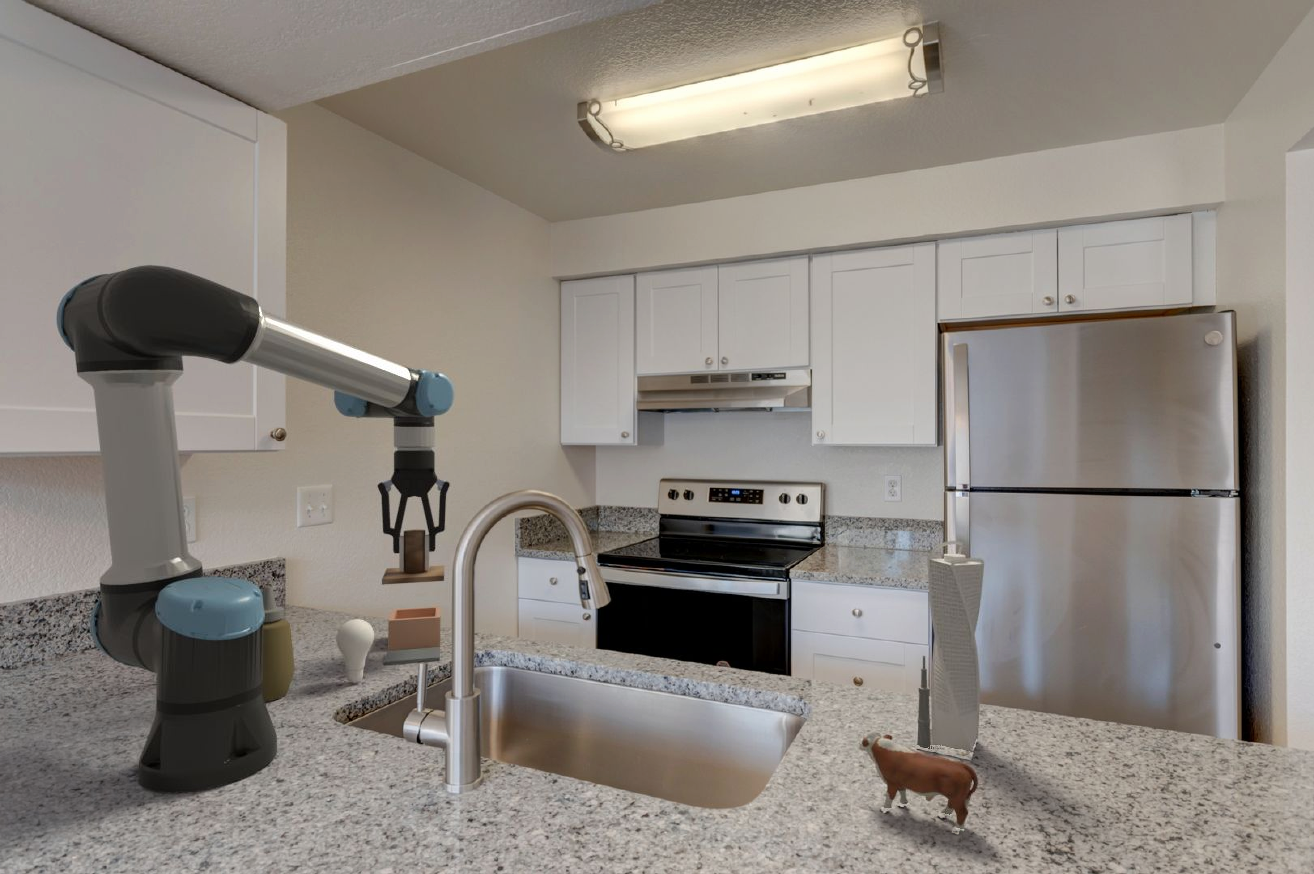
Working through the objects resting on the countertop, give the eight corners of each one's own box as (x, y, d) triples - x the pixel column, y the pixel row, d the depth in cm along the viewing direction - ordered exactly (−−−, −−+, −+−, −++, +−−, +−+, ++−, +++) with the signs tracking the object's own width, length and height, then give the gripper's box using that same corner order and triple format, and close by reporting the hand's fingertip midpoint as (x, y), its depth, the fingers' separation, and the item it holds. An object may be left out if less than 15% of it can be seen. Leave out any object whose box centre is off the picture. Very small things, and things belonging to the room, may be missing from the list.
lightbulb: (335, 679, 123) (336, 617, 123) (373, 675, 125) (373, 613, 125) (335, 691, 117) (336, 625, 117) (374, 685, 120) (375, 621, 120)
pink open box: (388, 650, 140) (388, 620, 140) (392, 637, 149) (392, 609, 150) (440, 646, 143) (440, 617, 143) (440, 633, 152) (440, 606, 152)
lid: (381, 584, 129) (381, 535, 129) (386, 573, 139) (386, 528, 139) (444, 580, 132) (443, 533, 132) (444, 570, 142) (444, 526, 142)
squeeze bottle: (251, 709, 109) (252, 594, 109) (229, 698, 114) (230, 588, 114) (303, 695, 115) (304, 586, 115) (281, 684, 120) (281, 580, 120)
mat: (384, 664, 131) (384, 661, 131) (387, 654, 138) (387, 651, 138) (439, 660, 134) (439, 657, 134) (440, 649, 140) (440, 646, 140)
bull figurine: (863, 787, 85) (863, 720, 85) (981, 826, 76) (981, 752, 76) (848, 802, 81) (848, 732, 81) (970, 844, 73) (970, 766, 73)
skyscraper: (927, 727, 103) (927, 538, 103) (987, 739, 99) (987, 542, 99) (916, 748, 96) (916, 545, 96) (980, 762, 91) (980, 549, 92)
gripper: (459, 448, 142) (459, 563, 142) (369, 449, 137) (369, 568, 137) (460, 449, 134) (460, 570, 134) (365, 449, 129) (365, 575, 129)
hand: (414, 568), depth 136 cm, fingers closed on lid, 4 cm apart
